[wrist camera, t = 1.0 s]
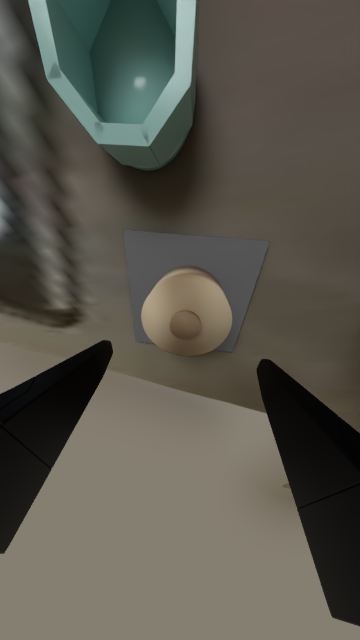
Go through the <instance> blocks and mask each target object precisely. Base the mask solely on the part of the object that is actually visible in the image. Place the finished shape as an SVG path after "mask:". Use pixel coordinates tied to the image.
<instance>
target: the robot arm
mask: <svg viewBox="0 0 360 640" xmlns="http://www.w3.org/2000/svg"><path fill="white" fill-rule="evenodd" d="M112 354H113V349H112V344H111V342H110V341H107V340H103V341H101V342H99V343H97V344H95V345H93V346H91V347H89V348H87V349H86V350H84V351H82V352H80V353H78V354H76V355H74V356H72V357H71V358H69V359H67V360H65V361H63V362H61V363H59V364H58V365H55V366H54V367H52V368H50V369H48V370H46V371H44V372H42V373H40V374H39V375H37V376H36V377H33V378H31V379H29V380H27V381H25V382H23V383H22V384H20V385H17V386H16V387H14V388H12V389H10V390H8V391H6V392H4V393H1V394H0V554H3V553H5V551H6V550H7V548H8V546H9V545H10V543H11V541H12V539H13V537H14V535H15V534H16V532H17V530H18V528H19V527H20V525H21V523H22V521H23V519H24V518H25V516H26V514H27V512H28V510H29V509H30V507H31V505H32V503H33V502H34V500H35V498H36V496H37V495H38V493H39V491H40V489H41V487H42V486H43V484H44V482H45V480H46V478H47V477H48V475H49V473H50V471H51V468H52V467H53V466H54V464H55V462H56V460H57V458H58V457H59V455H60V453H61V451H62V449H63V448H64V446H65V444H66V442H67V440H68V439H69V437H70V435H71V433H72V431H73V430H74V428H75V426H76V424H77V423H78V421H79V419H80V417H81V415H82V413H83V412H84V410H85V408H86V406H87V405H88V403H89V401H90V399H91V397H92V396H93V394H94V392H95V390H96V388H97V387H98V385H99V383H100V381H101V379H102V378H103V375H104V373H105V371H106V369H107V366H108V364H109V362H110V359H111V357H112ZM257 376H258V381H259V386H260V391H261V395H262V399H263V403H264V406H265V409H266V412H267V415H268V418H269V422H270V425H271V428H272V431H273V434H274V437H275V440H276V444H277V447H278V450H279V453H280V456H281V459H282V462H283V466H284V469H285V472H286V475H287V478H288V481H289V485H290V488H291V491H292V494H293V497H294V500H295V503H296V506H297V508H298V509H297V510H298V513H299V516H300V519H301V523H302V526H303V529H304V532H305V535H306V538H307V542H308V545H309V548H310V551H311V554H312V557H313V560H314V564H315V567H316V570H317V573H318V576H319V579H320V582H321V586H322V589H323V592H324V595H325V598H326V601H327V604H328V607H329V610H330V613H331V616H332V617H333V618H335V619H338V620H341V621H344V622H348V623H351V624H354V625H357V626H360V433H359V432H357V431H356V430H355V429H354V428H352V427H351V426H350V425H349V424H348V423H346V422H345V421H344V420H343V419H341V418H340V417H338V415H337V414H335V413H334V412H333V411H332V410H330V409H329V408H328V407H327V406H326V405H324V404H323V403H322V402H321V401H320V400H318V399H317V398H316V397H315V396H314V395H312V394H311V393H310V392H309V391H307V390H306V389H305V388H304V387H303V386H301V385H300V384H299V383H298V382H297V381H295V380H294V379H293V378H292V377H290V376H289V375H288V374H287V373H286V372H284V371H283V370H282V369H281V368H280V367H278V366H277V365H276V364H275V363H273V362H272V361H271V360H269V359H262V360H261V361H260V363H259V365H258V367H257Z"/></svg>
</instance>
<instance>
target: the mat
mask: <svg viewBox="0 0 360 640" xmlns="http://www.w3.org/2000/svg"><path fill="white" fill-rule="evenodd" d="M123 234H124V243H125V252H126V261H127V269H128V278H129V287H130V296H131V305H132V313H133V322H134V331H135V340H136V341H137V342H146V343H153V342H152V341H151V340H150V339H149V337H148V336H147V334H146V333H145V330H144V328H143V325H142V320H141V312H142V307H143V304H144V302H145V300H146V298H147V297H148V295H149V294H150V292H151V291H152V290H153V288H154V287H155V285H156V284H157V283H158V281H159V280H160V278H161V277H162V276H163V275H165V274H166V273H167V272H169V271H170V270H172V269H175V268H178V267H182V266H194V267H199V268H202V269H204V270H206V271H208V272H210V273H211V274H212V275H213V276H214V277H215V278H216V279H217V280H218V281H219V283H220V285H221V287H222V289H223V292H224V294H225V296H226V299H227V301H228V303H229V306H230V308H231V312H232V325H231V329H230V332H229V334H228V336H227V338H226V339H225V340H224V341H223V342H222V343H221V344H220V345H219V346H218V347H217V348H215V349H214V350H217V351H225V352H233V349H234V346H235V343H236V340H237V337H238V334H239V331H240V328H241V325H242V322H243V319H244V316H245V314H246V311H247V308H248V305H249V302H250V299H251V296H252V293H253V290H254V287H255V284H256V281H257V278H258V275H259V272H260V269H261V266H262V263H263V260H264V257H265V254H266V251H267V248H268V245H269V241H259V240H247V239H234V238H222V237H209V236H197V235H184V234H172V233H159V232H147V231H134V230H123Z"/></svg>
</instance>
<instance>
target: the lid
mask: <svg viewBox="0 0 360 640" xmlns="http://www.w3.org/2000/svg"><path fill="white" fill-rule="evenodd" d="M141 320H142V325H143V328H144V330H145V333H146V334H147V336H148V337H149V339H150V340H151V341H152V342H153V343H154V344H155V345H157V346H158V347H159V348H161V349H162V350H164V351H166V352H169V353H171V354H175V355H179V356H198V355H202V354H205V353H208V352H210V351H212V350H214V349H215V348H217V347H218V346H219V345H220V344H221V343H222V342H223V341H224V340H225V339H226V338H227V336H228V334H229V332H230V329H231V325H232V312H231V308H230V306H229V303H228V301H227V299H226V296H225V294H224V292H223V289H222V287H221V285H220V283H219V281H218V280H217V279H216V278H215V277H214V276H213V275H212V274H211V273H210V272H208V271H206V270H204V269H202V268H199V267H194V266H182V267H178V268H175V269H172V270H170V271H169V272H167V273H166V274H165V275H163V276H162V277H161V278H160V280H159V281H158V283H157V284H156V285H155V287H154V288H153V290H152V291H151V292H150V294H149V295H148V297H147V298H146V300H145V302H144V304H143V307H142V312H141Z"/></svg>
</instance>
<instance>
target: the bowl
mask: <svg viewBox="0 0 360 640" xmlns="http://www.w3.org/2000/svg"><path fill="white" fill-rule="evenodd" d="M28 2H29V6H30V10H31V15H32V19H33V23H34V27H35V32H36V36H37V40H38V44H39V48H40V53H41V57H42V61H43V65H44V70H45V74H46V78H47V79H48V82H49V83H50V84H51V85H52V87H53V88H54V89H55V91H56V92H57V93H58V94H59V96H60V97H61V98H62V99H63V101H64V102H65V103H66V104H67V106H68V107H69V108H70V110H71V111H72V112H73V113H74V115H75V116H76V117H77V118H78V120H79V121H80V122H81V124H82V125H83V126H84V127H85V129H86V130H87V131H88V132H89V134H90V135H91V136H92V138H93V139H94V140H95V141H96V143H97V144H98V145H100V146H101V147H102V148H103V149H104V150H106V151H107V152H108V153H109V154H110V155H111V156H113V157H114V158H115V159H116V160H117V161H118V162H120V163H121V164H122V165H129V166H131V167H133V168H136V169H139V170H143V171H153V170H157V169H160V168H162V167H164V166H165V165H167V164H168V163H170V162H171V161H172V160H173V159H174V158H175V157H176V156H177V154H178V153H179V152H180V150H181V149H182V147H183V145H184V143H185V141H186V139H187V136H188V134H189V131H190V128H191V127H192V125H193V115H194V108H195V95H196V70H197V56H198V18H199V0H28Z"/></svg>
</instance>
